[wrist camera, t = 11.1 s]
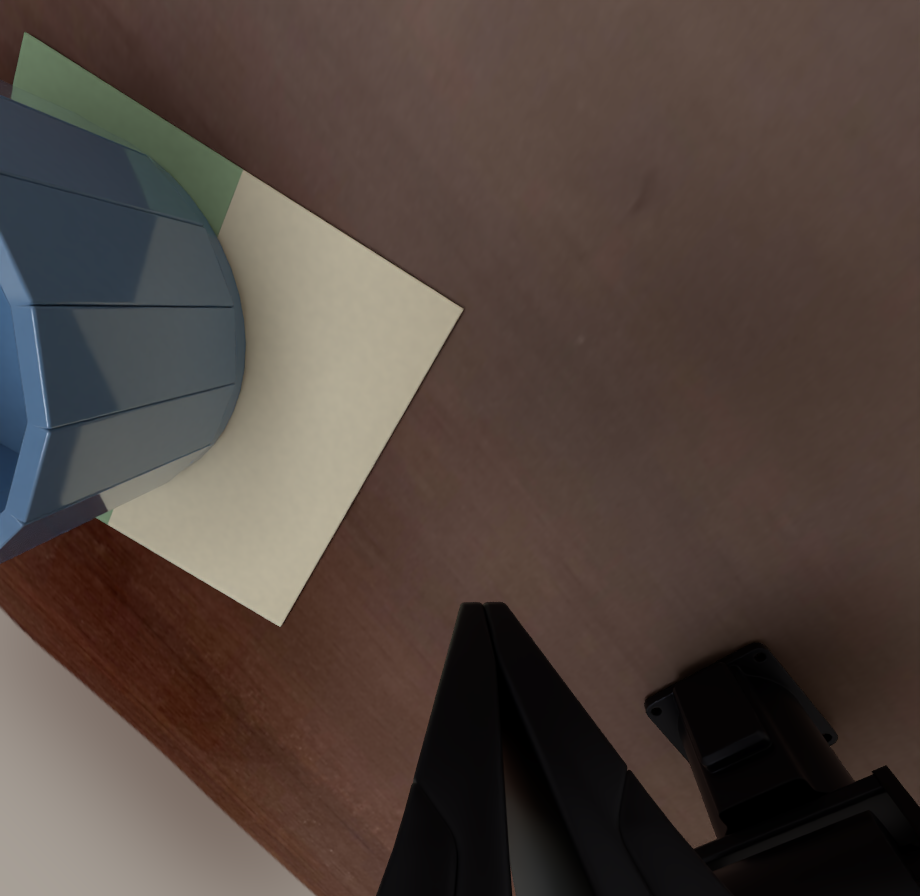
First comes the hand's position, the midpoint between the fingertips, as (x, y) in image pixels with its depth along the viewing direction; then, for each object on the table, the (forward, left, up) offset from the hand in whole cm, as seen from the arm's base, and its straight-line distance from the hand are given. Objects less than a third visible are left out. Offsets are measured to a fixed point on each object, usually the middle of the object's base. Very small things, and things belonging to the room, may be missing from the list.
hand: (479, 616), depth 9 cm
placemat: (+12, +10, -13) cm, 20 cm away
